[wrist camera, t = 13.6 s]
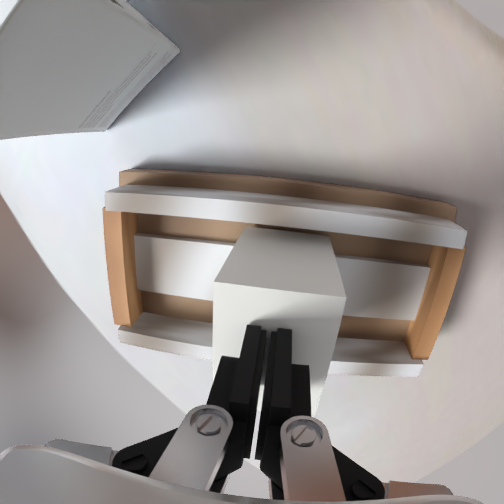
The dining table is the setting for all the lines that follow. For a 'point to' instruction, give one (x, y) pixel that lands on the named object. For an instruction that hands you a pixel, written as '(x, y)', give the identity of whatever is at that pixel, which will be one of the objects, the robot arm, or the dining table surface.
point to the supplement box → (73, 64)
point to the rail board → (287, 219)
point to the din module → (280, 299)
